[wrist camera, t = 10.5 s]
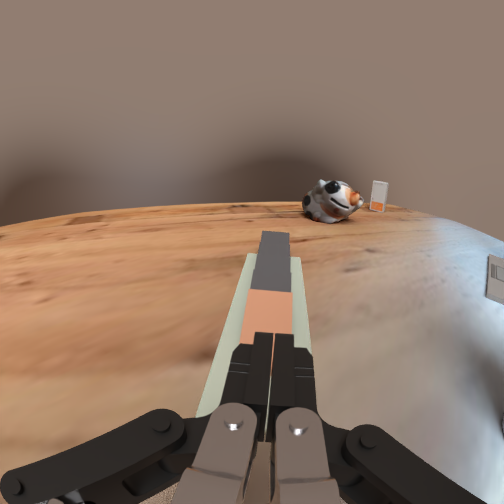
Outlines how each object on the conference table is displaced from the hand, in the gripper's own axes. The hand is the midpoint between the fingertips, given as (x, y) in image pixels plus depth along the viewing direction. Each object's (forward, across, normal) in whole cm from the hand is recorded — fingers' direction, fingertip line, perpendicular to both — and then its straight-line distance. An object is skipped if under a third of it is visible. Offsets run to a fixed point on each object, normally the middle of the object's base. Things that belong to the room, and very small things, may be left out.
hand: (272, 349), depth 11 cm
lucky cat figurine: (+77, -16, +15) cm, 80 cm away
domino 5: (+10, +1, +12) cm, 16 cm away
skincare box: (+102, -40, +16) cm, 111 cm away
